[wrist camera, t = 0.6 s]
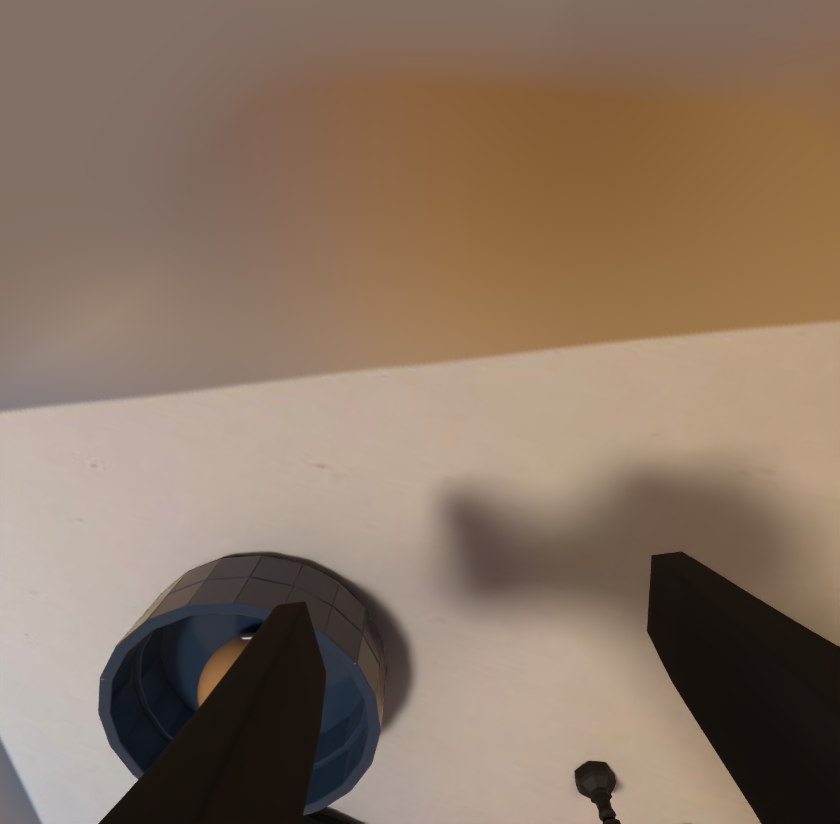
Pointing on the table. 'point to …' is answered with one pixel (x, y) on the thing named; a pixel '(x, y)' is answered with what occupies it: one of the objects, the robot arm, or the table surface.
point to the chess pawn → (598, 788)
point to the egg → (220, 664)
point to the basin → (228, 617)
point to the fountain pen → (320, 819)
